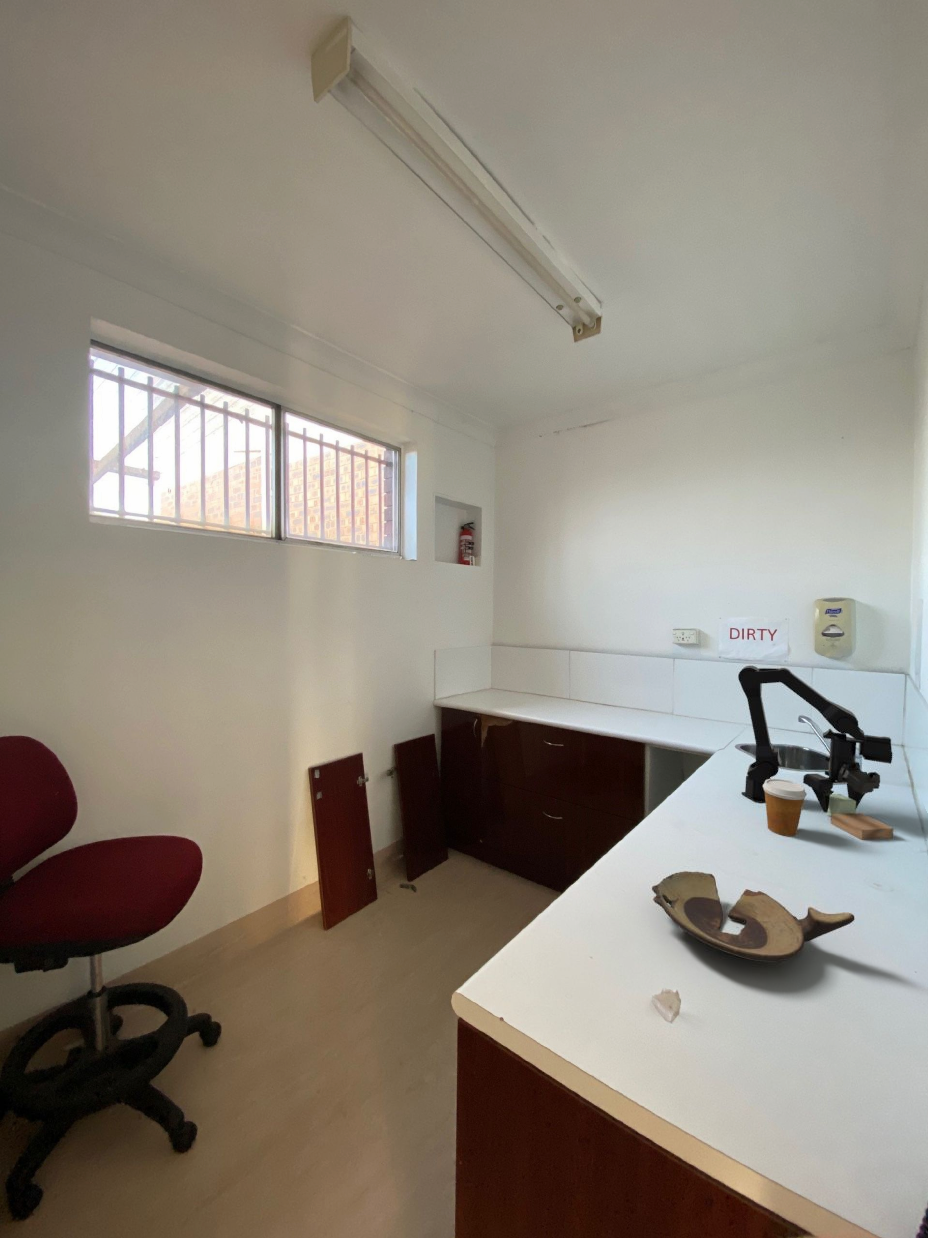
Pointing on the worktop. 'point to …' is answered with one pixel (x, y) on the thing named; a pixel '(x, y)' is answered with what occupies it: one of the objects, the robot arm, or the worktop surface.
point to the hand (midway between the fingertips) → (839, 811)
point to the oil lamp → (741, 918)
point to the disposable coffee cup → (783, 805)
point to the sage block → (841, 804)
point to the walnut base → (861, 826)
